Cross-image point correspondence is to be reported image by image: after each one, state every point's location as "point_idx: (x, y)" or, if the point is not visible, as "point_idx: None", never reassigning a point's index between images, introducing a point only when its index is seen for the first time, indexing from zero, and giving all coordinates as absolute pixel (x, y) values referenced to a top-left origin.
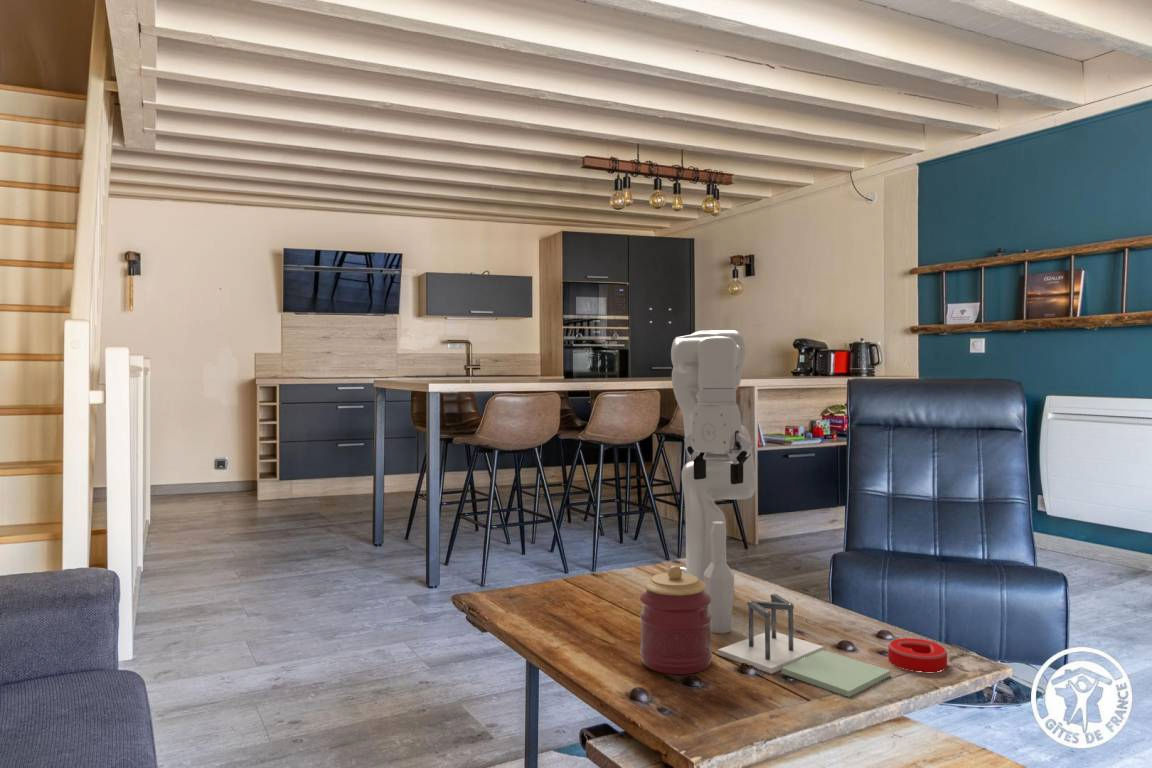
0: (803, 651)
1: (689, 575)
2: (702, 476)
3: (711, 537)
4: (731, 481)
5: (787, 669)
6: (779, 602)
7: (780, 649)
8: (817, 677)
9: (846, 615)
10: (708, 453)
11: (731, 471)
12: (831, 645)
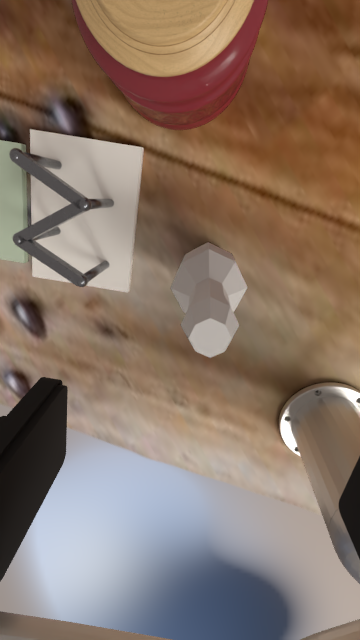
0: None
1: (145, 19)
2: (354, 491)
3: (223, 300)
4: (49, 385)
5: (10, 142)
6: (54, 255)
7: (68, 221)
8: None
9: (96, 428)
10: None
11: (8, 435)
12: (44, 306)
